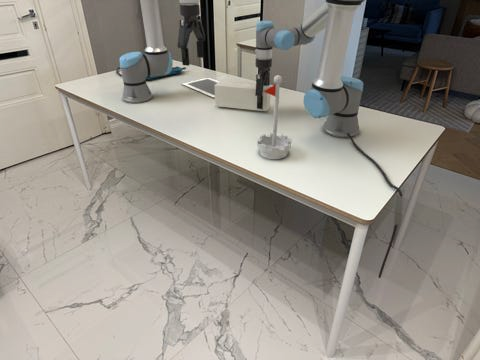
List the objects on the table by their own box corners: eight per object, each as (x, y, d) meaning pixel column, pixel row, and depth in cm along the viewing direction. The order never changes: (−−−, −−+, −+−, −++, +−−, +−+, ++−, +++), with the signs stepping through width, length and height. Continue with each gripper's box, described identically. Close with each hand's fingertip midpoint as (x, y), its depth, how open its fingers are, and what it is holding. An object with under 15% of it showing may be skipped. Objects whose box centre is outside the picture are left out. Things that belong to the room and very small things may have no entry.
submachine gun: (171, 61, 240) (190, 66, 223) (172, 66, 242) (191, 72, 225) (125, 70, 221) (142, 76, 205) (126, 76, 223) (144, 82, 207)
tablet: (181, 84, 205) (181, 83, 205) (208, 77, 216) (208, 77, 216) (213, 98, 185) (213, 97, 185) (241, 90, 196) (241, 89, 196)
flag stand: (280, 142, 140) (286, 68, 124) (296, 156, 130) (304, 78, 113) (251, 147, 136) (253, 72, 120) (265, 163, 126) (269, 82, 109)
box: (269, 106, 170) (270, 85, 165) (266, 111, 165) (267, 90, 160) (219, 101, 177) (218, 81, 171) (215, 106, 172) (214, 85, 166)
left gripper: (194, 0, 140) (198, 53, 152) (163, 7, 120) (170, 67, 132) (211, 1, 138) (213, 55, 150) (182, 8, 118) (187, 69, 130)
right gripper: (263, 52, 164) (261, 98, 177) (248, 62, 149) (248, 111, 162) (277, 54, 162) (275, 100, 174) (264, 64, 147) (262, 114, 159)
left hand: (193, 61), depth 141 cm, fingers open, 13 cm apart
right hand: (262, 105), depth 168 cm, fingers closed on box, 7 cm apart
